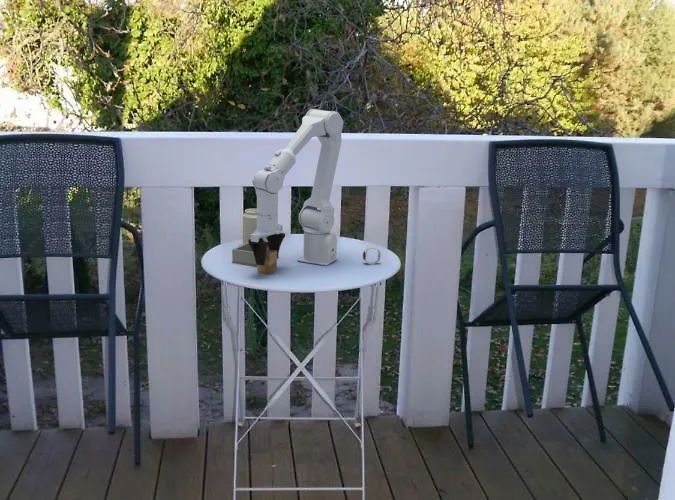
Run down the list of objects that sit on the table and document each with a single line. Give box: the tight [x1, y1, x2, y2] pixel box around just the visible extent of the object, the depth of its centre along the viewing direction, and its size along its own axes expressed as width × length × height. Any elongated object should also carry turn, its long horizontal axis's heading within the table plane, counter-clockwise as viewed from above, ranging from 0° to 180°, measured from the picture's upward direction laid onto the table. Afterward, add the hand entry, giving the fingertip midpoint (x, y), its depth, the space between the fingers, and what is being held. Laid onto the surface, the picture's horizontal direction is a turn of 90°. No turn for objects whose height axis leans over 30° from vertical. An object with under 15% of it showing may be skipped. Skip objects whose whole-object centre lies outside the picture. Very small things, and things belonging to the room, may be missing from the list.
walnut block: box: [256, 249, 278, 276], centre depth 204 cm, size 4×4×6 cm
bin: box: [231, 243, 280, 268], centre depth 215 cm, size 9×11×4 cm
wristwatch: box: [362, 246, 381, 265], centre depth 214 cm, size 3×5×5 cm, turn 104°
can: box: [242, 207, 267, 245], centre depth 227 cm, size 8×8×12 cm
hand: (266, 261), depth 204 cm, fingers open, 7 cm apart
